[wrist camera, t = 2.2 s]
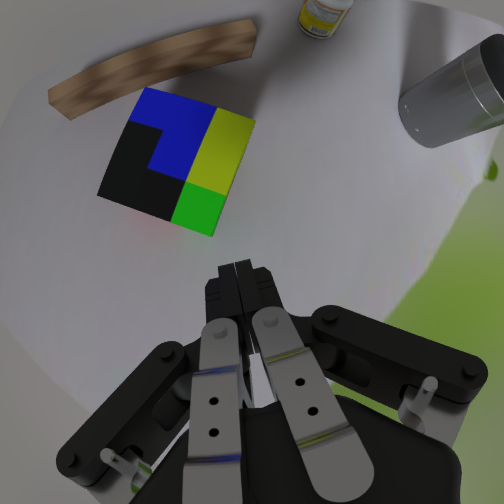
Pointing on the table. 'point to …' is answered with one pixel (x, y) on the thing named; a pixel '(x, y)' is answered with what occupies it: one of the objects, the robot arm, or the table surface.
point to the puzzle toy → (177, 160)
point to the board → (153, 66)
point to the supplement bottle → (323, 16)
